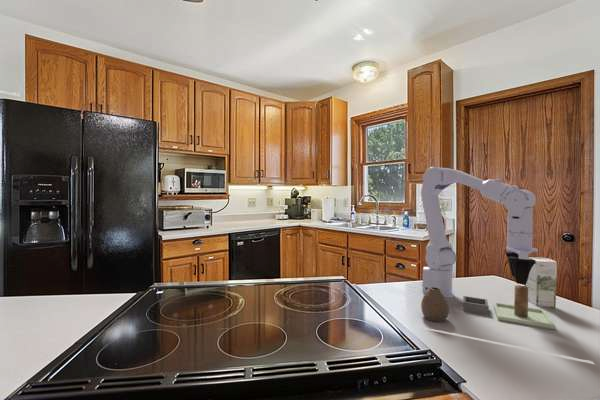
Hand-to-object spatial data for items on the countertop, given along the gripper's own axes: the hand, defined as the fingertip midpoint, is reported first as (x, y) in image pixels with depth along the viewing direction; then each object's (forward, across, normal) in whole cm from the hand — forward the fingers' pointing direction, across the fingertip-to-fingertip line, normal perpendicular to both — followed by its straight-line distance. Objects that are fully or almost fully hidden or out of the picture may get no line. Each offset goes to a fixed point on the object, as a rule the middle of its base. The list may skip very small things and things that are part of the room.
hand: (518, 280), depth 83 cm
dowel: (+10, -1, 0) cm, 10 cm away
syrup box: (+10, +15, -7) cm, 20 cm away
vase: (+11, -14, +20) cm, 27 cm away
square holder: (+10, -1, +10) cm, 15 cm away
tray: (+10, -1, 0) cm, 10 cm away
